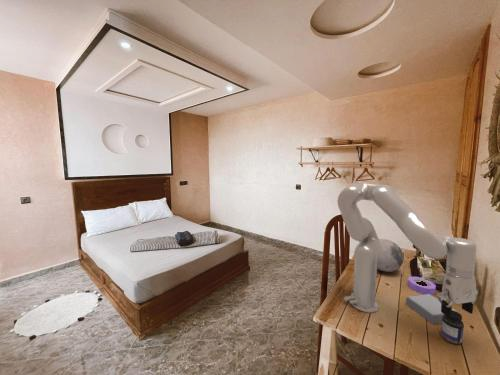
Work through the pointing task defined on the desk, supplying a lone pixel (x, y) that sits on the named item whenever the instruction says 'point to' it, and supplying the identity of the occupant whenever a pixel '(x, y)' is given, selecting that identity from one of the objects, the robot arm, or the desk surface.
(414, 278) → the masking tape
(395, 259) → the moon model
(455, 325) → the pill bottle
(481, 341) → the desk surface
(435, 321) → the podium
